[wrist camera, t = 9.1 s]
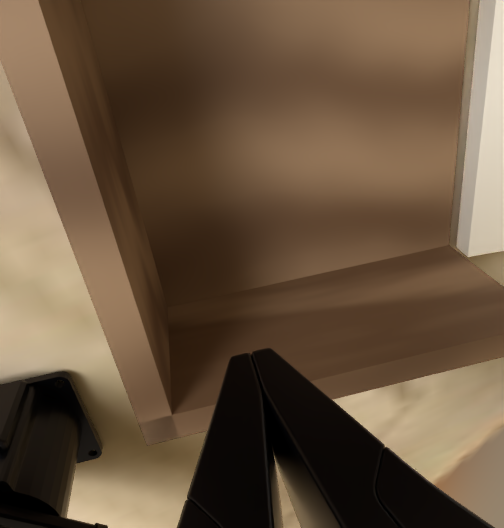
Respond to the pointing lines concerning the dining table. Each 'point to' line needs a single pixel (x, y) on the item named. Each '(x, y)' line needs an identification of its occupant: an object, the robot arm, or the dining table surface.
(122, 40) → the crate
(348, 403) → the dining table surface
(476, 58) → the tailgate
